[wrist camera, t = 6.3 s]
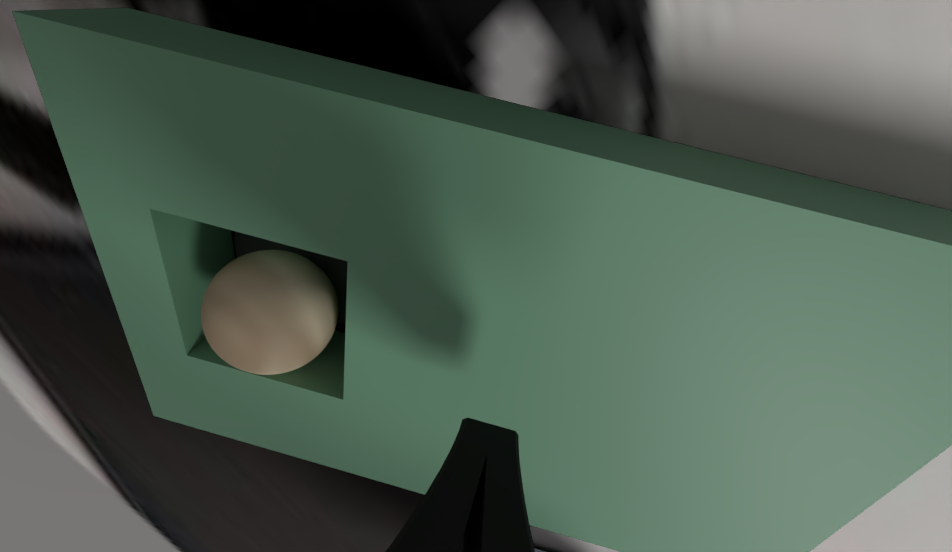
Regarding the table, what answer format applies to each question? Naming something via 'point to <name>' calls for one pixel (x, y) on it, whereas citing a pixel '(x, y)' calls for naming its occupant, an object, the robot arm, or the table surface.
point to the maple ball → (269, 312)
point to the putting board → (509, 287)
